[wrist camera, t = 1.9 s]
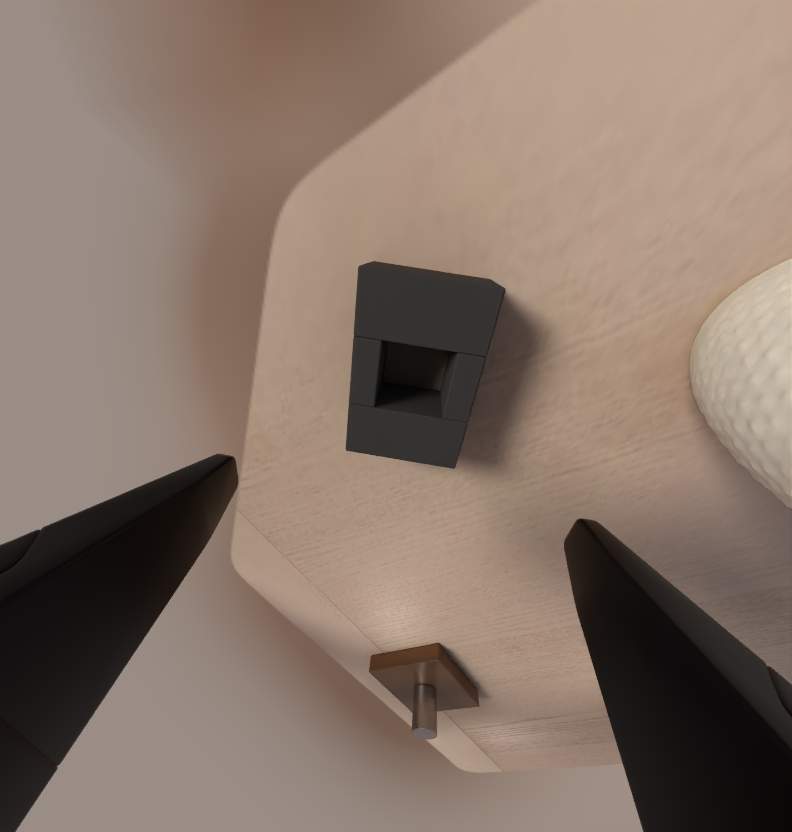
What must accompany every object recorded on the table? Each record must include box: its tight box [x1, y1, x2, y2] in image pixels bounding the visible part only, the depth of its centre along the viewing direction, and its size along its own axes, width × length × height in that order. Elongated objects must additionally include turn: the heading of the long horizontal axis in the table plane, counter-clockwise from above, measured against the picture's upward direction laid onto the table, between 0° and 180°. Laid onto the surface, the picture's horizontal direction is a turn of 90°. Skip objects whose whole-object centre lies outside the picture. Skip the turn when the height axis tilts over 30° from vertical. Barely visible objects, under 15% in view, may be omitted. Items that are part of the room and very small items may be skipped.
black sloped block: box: [346, 261, 505, 469], centre depth 17 cm, size 9×6×4 cm, turn 172°
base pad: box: [369, 643, 479, 739], centre depth 33 cm, size 10×8×5 cm
